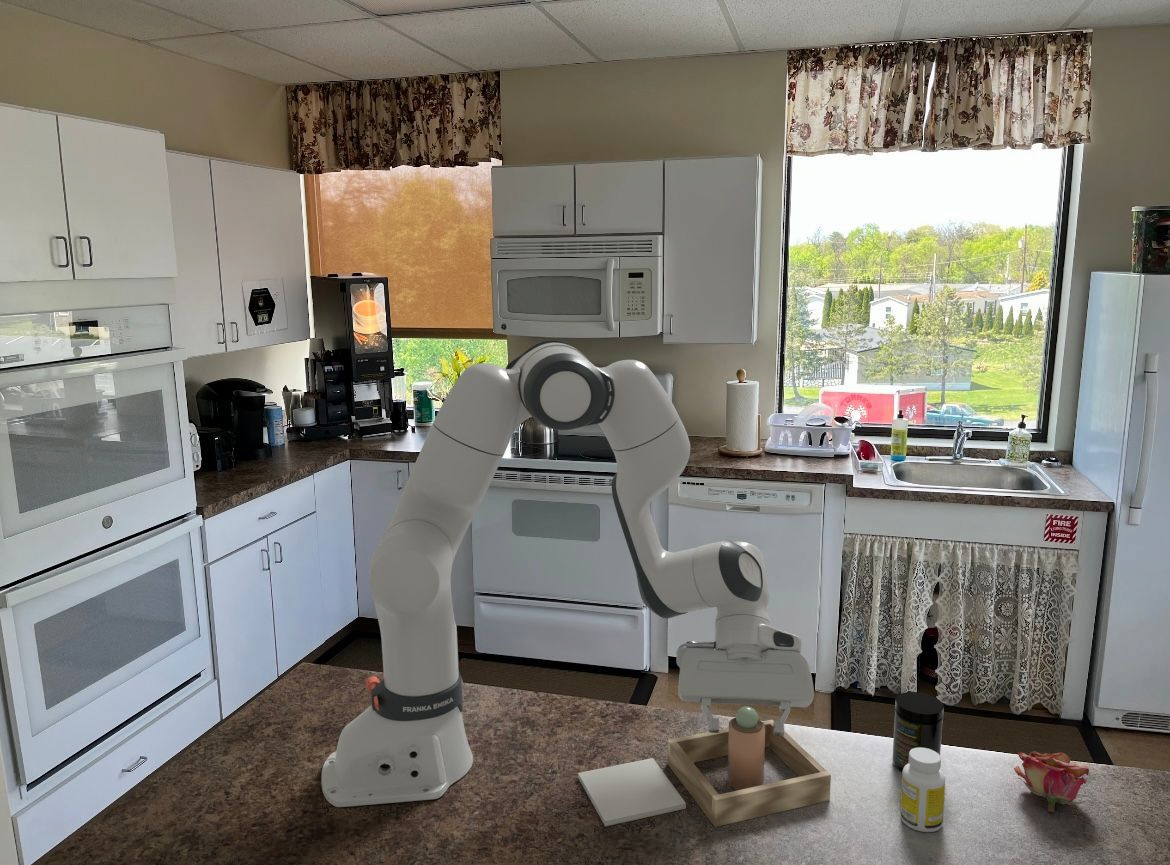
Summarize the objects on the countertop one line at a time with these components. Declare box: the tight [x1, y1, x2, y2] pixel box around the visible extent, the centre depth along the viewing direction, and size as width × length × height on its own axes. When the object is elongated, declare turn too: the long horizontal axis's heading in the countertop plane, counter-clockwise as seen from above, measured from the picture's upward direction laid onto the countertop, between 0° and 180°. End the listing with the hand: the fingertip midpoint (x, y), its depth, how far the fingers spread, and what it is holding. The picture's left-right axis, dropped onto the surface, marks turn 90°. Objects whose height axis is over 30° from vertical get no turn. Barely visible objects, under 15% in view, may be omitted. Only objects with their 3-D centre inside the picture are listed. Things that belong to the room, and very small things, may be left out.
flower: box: [1013, 750, 1091, 814], centre depth 119 cm, size 10×9×8 cm
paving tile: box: [577, 757, 687, 827], centre depth 123 cm, size 12×12×1 cm
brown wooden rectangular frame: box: [667, 719, 832, 828], centre depth 125 cm, size 18×16×4 cm
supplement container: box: [892, 691, 945, 773], centre depth 128 cm, size 7×7×10 cm
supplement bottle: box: [899, 748, 946, 833], centre depth 115 cm, size 5×5×10 cm
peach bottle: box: [727, 705, 766, 791], centre depth 124 cm, size 5×5×12 cm
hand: (746, 733), depth 126 cm, fingers open, 8 cm apart
